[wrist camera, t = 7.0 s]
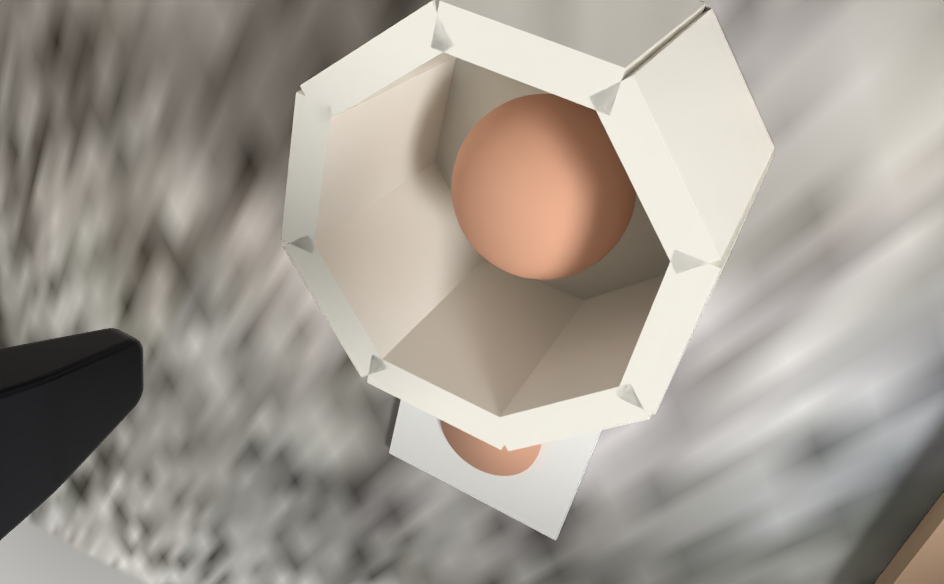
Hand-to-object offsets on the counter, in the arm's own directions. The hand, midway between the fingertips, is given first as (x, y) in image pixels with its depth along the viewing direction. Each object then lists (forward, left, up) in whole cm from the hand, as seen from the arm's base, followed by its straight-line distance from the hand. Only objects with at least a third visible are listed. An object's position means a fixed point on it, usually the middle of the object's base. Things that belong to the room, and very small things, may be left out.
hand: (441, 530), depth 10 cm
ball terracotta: (+3, 0, -10) cm, 10 cm away
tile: (+3, +9, -13) cm, 16 cm away
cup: (+3, 0, -13) cm, 13 cm away
